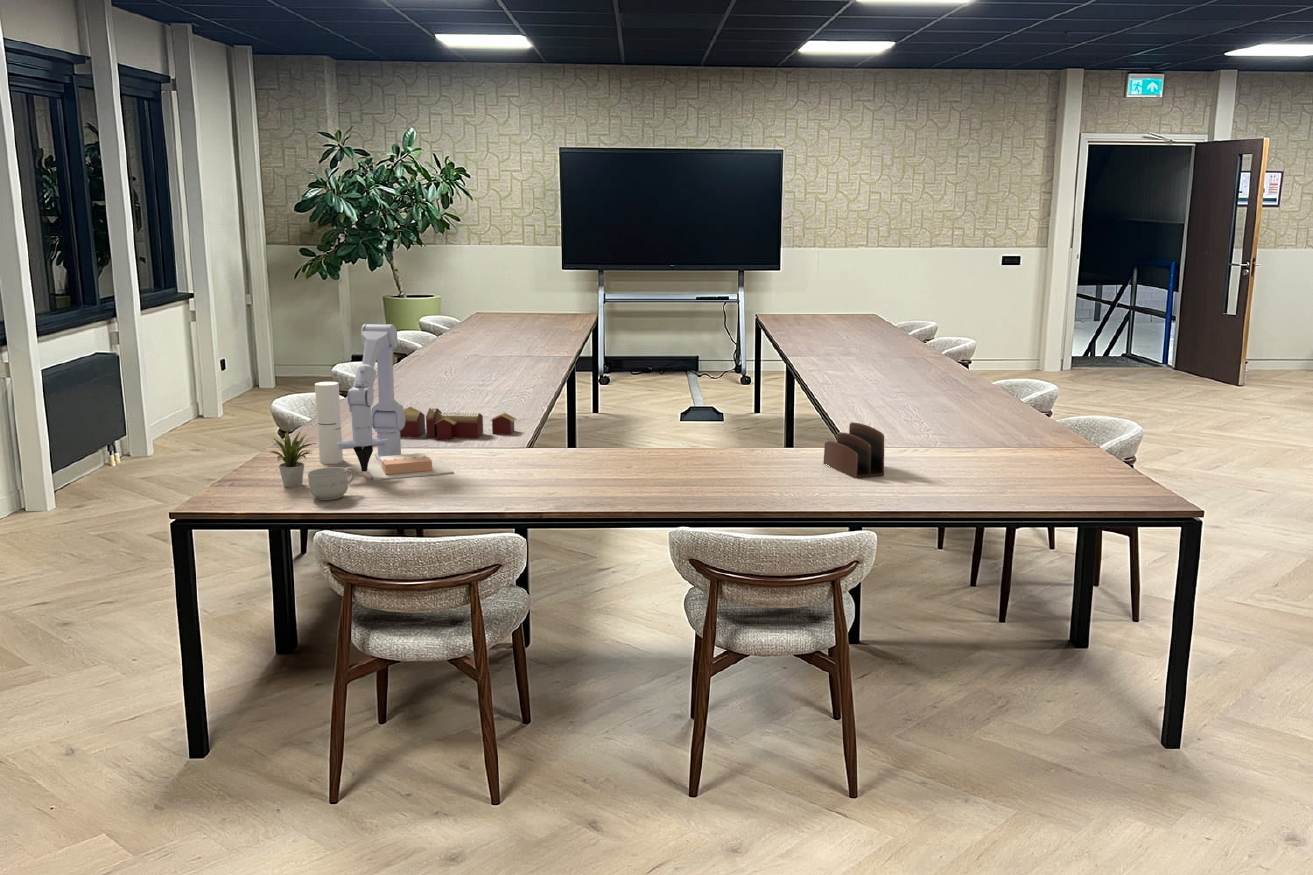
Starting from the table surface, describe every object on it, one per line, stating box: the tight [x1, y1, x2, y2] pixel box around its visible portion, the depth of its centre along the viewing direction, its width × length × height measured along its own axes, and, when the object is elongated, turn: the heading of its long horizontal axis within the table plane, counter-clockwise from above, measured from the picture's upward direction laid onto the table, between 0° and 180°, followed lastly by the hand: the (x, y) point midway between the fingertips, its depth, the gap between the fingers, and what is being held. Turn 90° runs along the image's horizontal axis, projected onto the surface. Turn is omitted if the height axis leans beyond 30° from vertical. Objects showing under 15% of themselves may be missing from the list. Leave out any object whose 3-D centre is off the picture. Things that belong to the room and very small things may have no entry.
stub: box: [382, 456, 432, 474], centre depth 345 cm, size 6×14×3 cm, turn 112°
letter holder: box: [823, 422, 885, 479], centre depth 350 cm, size 10×20×14 cm, turn 22°
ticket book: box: [378, 452, 429, 470], centre depth 351 cm, size 6×14×3 cm, turn 112°
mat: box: [367, 457, 455, 481], centre depth 349 cm, size 19×24×1 cm
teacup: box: [306, 466, 357, 501], centre depth 317 cm, size 14×11×8 cm
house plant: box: [269, 430, 318, 489], centre depth 327 cm, size 14×14×16 cm
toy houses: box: [400, 406, 517, 441], centre depth 400 cm, size 45×20×10 cm, turn 85°
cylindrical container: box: [314, 381, 344, 465], centre depth 357 cm, size 7×7×25 cm
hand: (364, 471), depth 341 cm, fingers closed
